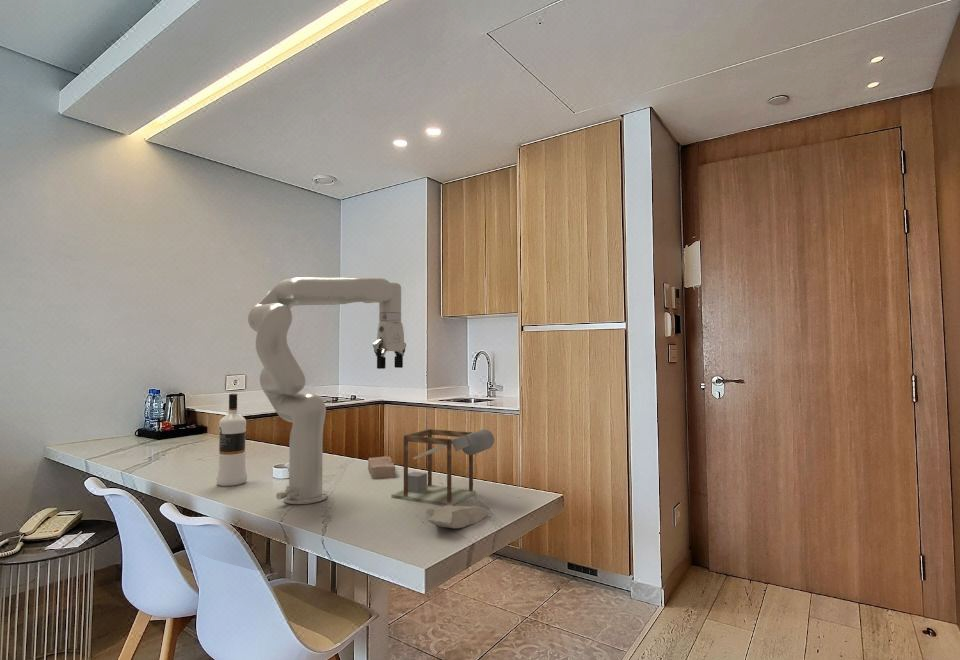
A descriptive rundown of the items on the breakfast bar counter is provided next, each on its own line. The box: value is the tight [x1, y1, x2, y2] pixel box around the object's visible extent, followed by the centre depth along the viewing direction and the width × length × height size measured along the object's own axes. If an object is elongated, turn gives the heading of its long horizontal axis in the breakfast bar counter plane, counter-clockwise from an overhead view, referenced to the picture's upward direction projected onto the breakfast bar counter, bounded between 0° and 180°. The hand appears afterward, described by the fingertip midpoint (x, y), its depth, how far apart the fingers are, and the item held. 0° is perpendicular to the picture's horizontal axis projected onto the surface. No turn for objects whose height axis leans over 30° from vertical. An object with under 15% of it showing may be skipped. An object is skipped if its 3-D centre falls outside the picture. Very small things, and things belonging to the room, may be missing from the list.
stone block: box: [408, 471, 428, 493], centre depth 165 cm, size 5×5×5 cm
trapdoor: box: [412, 428, 495, 460], centre depth 159 cm, size 22×12×6 cm, turn 64°
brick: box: [367, 456, 396, 480], centre depth 192 cm, size 17×8×5 cm, turn 16°
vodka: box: [216, 393, 248, 487], centre depth 178 cm, size 9×9×30 cm
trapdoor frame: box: [390, 428, 476, 506], centre depth 162 cm, size 21×15×19 cm
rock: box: [426, 505, 489, 529], centre depth 137 cm, size 21×5×15 cm
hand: (390, 368), depth 182 cm, fingers open, 9 cm apart
